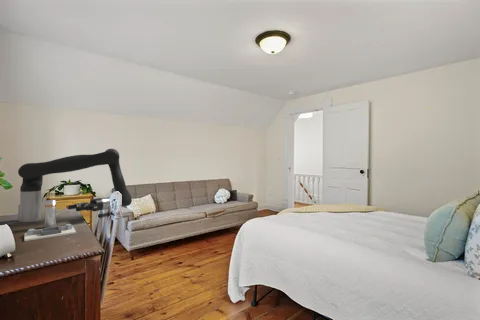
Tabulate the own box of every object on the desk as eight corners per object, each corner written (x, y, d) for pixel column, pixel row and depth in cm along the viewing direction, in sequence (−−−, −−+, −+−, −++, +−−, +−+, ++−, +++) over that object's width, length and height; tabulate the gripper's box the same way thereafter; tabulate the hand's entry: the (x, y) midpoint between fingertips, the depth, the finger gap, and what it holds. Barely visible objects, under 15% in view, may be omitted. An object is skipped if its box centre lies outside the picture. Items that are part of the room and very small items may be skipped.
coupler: (42, 228, 127) (42, 201, 127) (49, 225, 132) (50, 199, 132) (50, 228, 127) (51, 201, 127) (58, 226, 131) (58, 199, 131)
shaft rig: (24, 241, 107) (24, 234, 107) (24, 235, 115) (24, 228, 115) (76, 233, 120) (76, 227, 120) (72, 228, 128) (73, 222, 128)
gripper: (93, 197, 156) (65, 200, 142) (107, 199, 149) (79, 203, 135) (93, 208, 156) (65, 213, 142) (107, 211, 149) (79, 216, 135)
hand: (72, 208), depth 138 cm, fingers open, 8 cm apart
